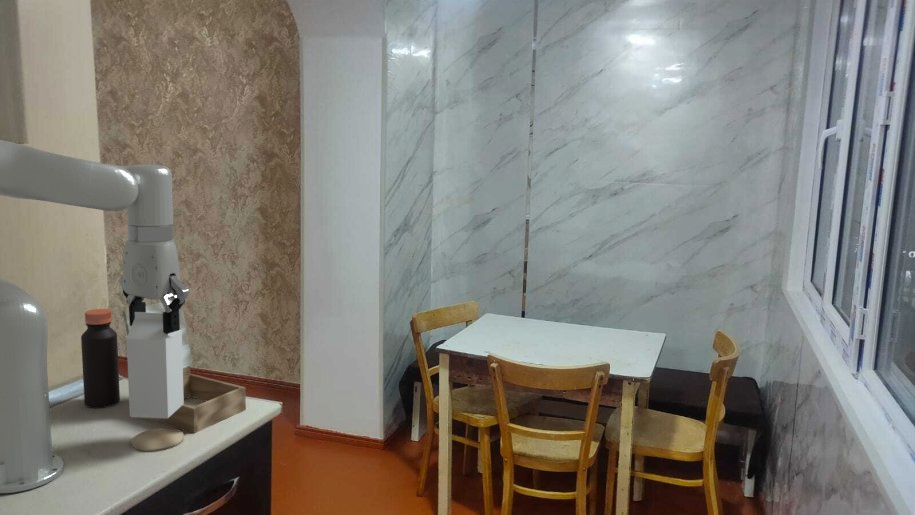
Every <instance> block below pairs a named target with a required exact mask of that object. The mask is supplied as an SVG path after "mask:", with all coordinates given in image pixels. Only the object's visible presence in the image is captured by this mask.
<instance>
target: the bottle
mask: <svg viewBox="0 0 915 515" xmlns="http://www.w3.org/2000/svg"><path fill="white" fill-rule="evenodd" d="M84 321H85V326H86V328H87V329H86V330H85V331H84V332H83V333H82V334H81V336H80V344H81V359H82V379H83V398H84V405H85V407H87V408H88V407H89V408H91V409H92V408H94V409H100V408H101V409H102V408H107V407H112V406H114V405H116V404H118V403H119V402H120V400H121V392H120V371H119V351H118V349H119V348H118V333H117V332H116V330H115V329H113V328H112V327H111V324H112V310H110V309H107V308H106V309H105V308H96V309H95V308H94V309H90V310H86V311H85V312H84Z"/></svg>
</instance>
